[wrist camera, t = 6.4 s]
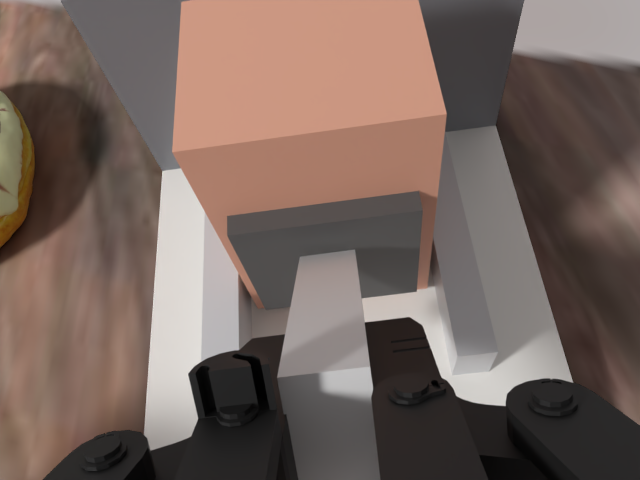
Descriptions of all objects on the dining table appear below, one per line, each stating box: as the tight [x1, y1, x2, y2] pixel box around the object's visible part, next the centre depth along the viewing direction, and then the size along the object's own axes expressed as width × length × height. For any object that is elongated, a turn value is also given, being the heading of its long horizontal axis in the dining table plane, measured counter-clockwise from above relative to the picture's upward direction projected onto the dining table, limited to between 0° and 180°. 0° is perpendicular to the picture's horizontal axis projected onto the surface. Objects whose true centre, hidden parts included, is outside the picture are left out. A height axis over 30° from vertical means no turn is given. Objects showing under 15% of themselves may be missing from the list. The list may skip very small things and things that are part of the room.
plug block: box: [172, 0, 447, 310], centre depth 17 cm, size 6×6×9 cm
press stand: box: [61, 0, 573, 450], centre depth 18 cm, size 14×16×10 cm
